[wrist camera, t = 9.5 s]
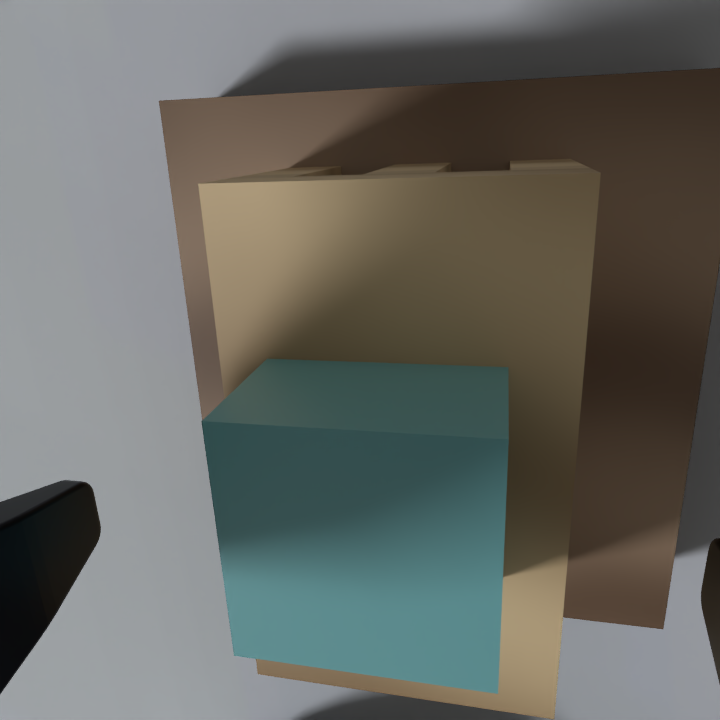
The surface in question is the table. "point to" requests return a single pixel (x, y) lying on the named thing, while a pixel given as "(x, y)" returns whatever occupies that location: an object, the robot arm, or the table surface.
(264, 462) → the teal square block
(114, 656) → the table surface
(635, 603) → the block
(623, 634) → the table surface
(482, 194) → the pallet
